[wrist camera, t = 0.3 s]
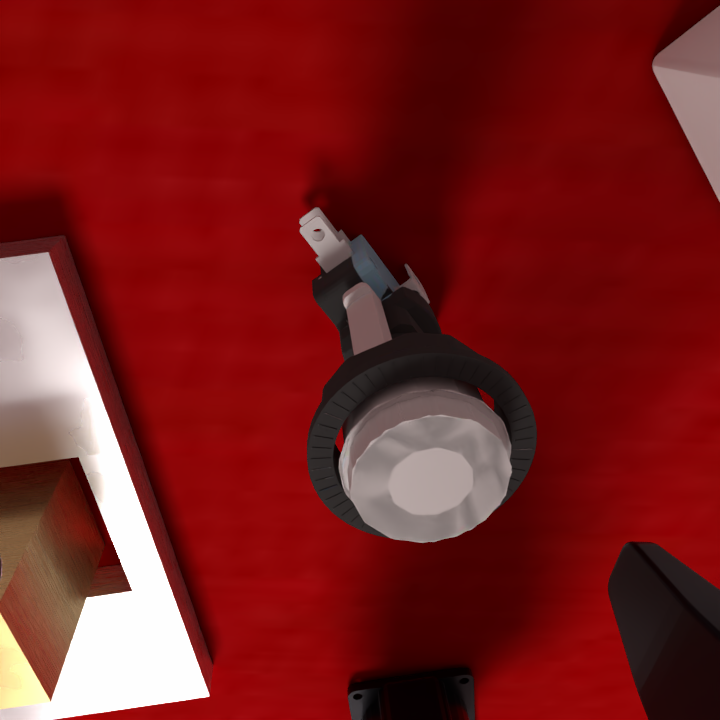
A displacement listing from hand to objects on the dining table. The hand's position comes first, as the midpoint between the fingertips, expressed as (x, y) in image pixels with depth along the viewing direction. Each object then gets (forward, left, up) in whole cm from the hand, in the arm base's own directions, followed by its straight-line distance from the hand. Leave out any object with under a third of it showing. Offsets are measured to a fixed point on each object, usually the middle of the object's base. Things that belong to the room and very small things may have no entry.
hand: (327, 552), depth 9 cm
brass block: (-10, +13, -14) cm, 21 cm away
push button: (-2, -2, -14) cm, 14 cm away
